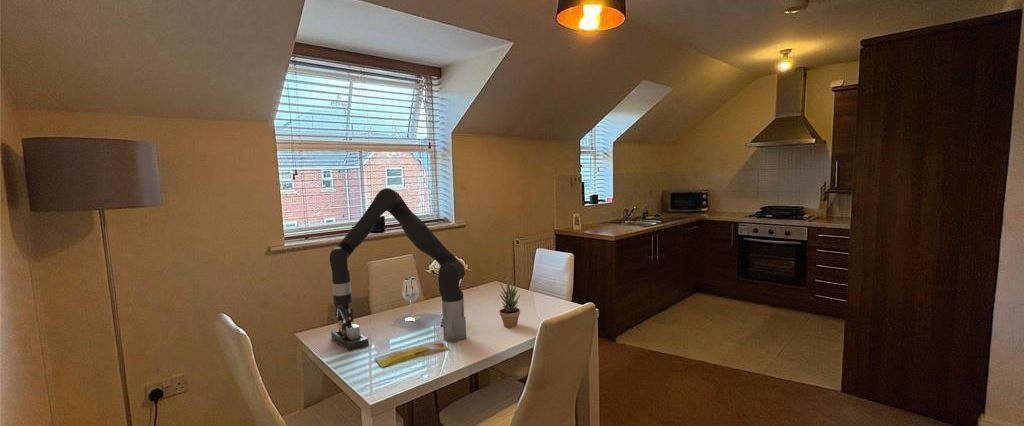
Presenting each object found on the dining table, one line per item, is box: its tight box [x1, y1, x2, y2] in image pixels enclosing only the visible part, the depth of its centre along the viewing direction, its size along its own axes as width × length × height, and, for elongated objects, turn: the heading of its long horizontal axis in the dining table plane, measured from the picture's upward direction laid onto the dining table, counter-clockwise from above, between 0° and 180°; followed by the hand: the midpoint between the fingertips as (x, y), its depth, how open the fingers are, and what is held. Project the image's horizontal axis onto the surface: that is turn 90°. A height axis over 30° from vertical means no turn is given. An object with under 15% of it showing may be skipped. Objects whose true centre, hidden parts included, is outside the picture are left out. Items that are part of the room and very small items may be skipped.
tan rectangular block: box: [337, 319, 347, 336], centre depth 188 cm, size 4×4×8 cm
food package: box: [374, 340, 449, 368], centre depth 170 cm, size 27×2×10 cm
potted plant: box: [498, 273, 521, 329], centre depth 197 cm, size 10×10×25 cm
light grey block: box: [346, 323, 361, 342], centre depth 181 cm, size 4×4×8 cm
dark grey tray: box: [330, 329, 370, 352], centre depth 185 cm, size 20×8×3 cm, turn 42°
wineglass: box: [402, 277, 421, 322], centre depth 211 cm, size 8×8×20 cm
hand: (344, 328), depth 188 cm, fingers open, 8 cm apart
